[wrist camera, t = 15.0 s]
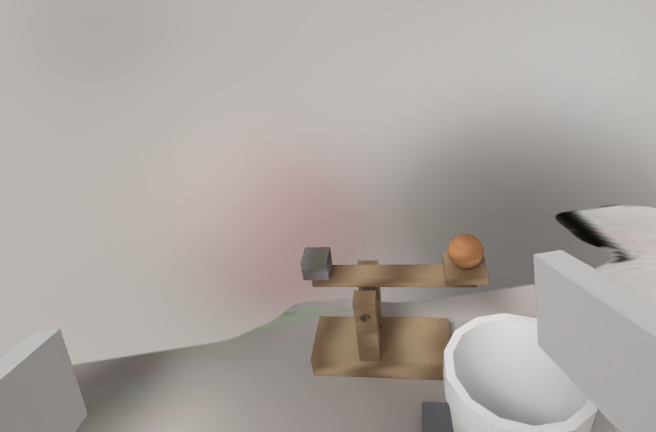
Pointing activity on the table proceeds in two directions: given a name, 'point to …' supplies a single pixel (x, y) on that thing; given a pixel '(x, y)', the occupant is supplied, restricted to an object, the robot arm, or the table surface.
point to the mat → (437, 417)
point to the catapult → (381, 332)
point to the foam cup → (509, 381)
